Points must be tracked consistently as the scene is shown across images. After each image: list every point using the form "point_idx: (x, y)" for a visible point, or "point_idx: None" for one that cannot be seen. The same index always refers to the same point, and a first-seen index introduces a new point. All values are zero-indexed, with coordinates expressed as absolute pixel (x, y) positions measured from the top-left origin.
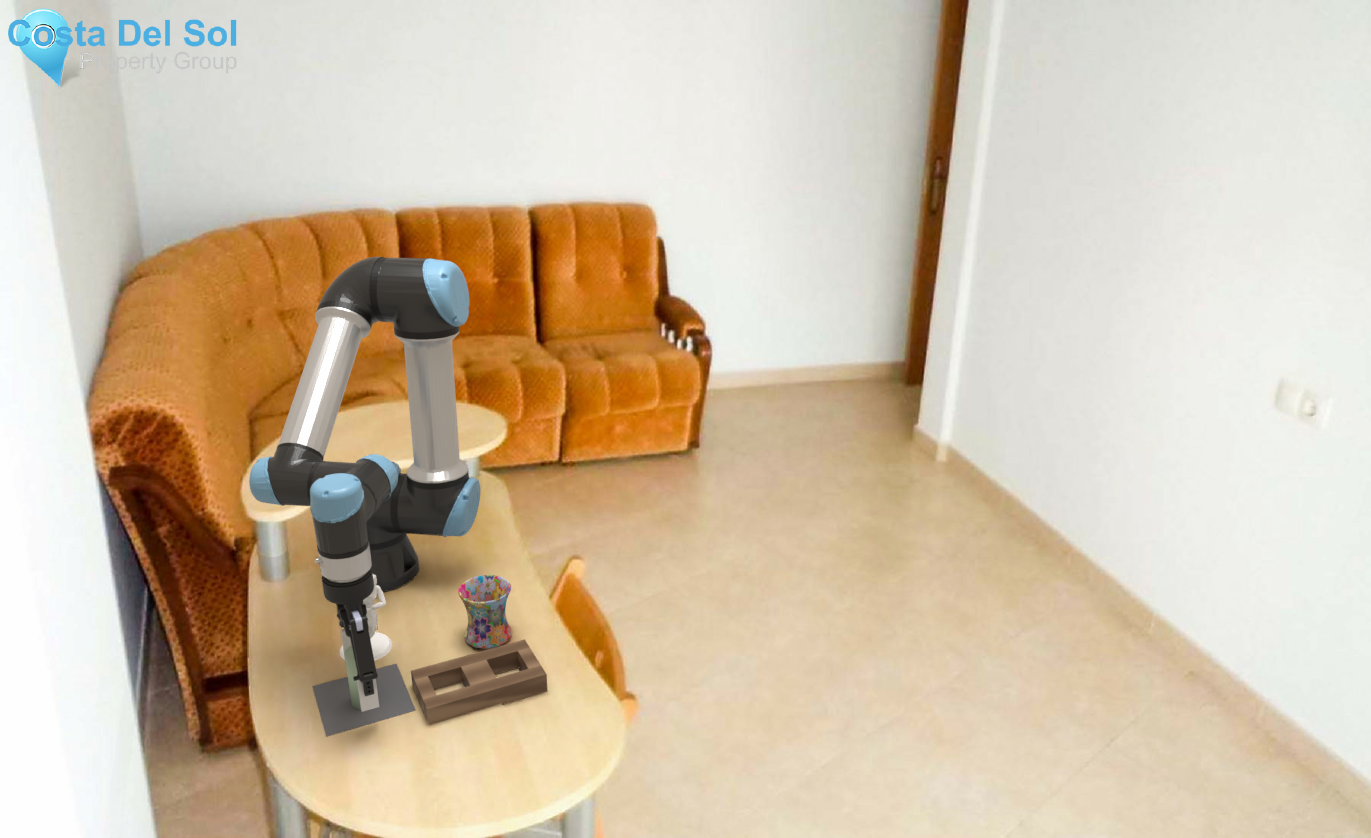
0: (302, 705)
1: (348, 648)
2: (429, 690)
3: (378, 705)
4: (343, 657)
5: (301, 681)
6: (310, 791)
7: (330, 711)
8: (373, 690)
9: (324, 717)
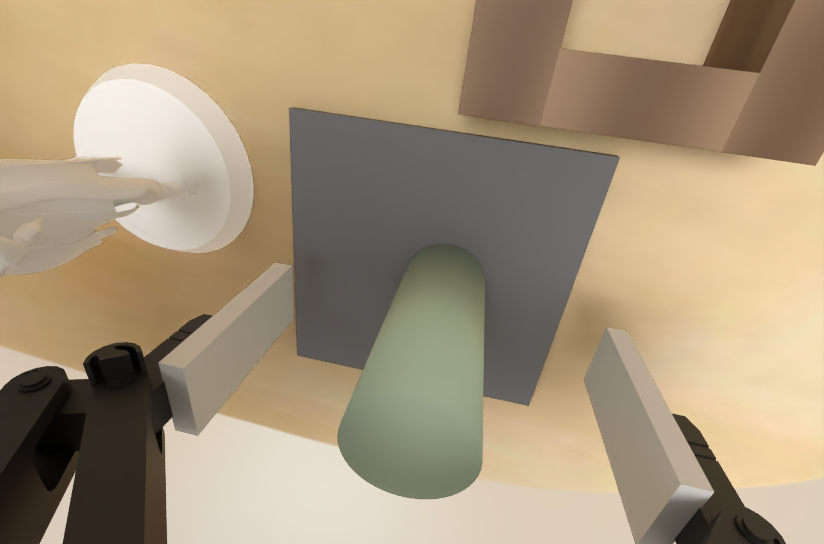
0: None
1: (359, 468)
2: (683, 91)
3: (628, 337)
4: (196, 250)
5: (260, 359)
6: None
7: None
8: (704, 441)
9: None
